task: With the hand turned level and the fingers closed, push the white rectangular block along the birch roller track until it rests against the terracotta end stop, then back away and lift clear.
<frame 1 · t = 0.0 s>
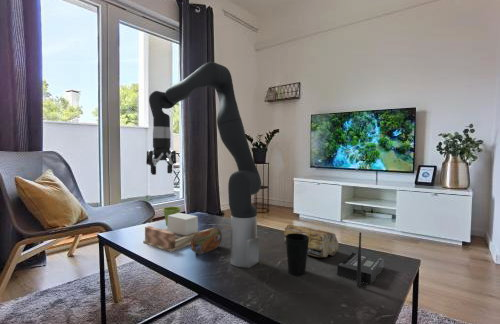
hand: (161, 173, 125), 29 cm above the table, tool pointing down, fingers open, 8 cm apart
roller track: (176, 240, 124), on the table
white rectangular block: (182, 223, 127), point 7 cm above the table, slide at 0.0 cm
plant pot: (171, 224, 150), on the table
cup: (296, 272, 94), on the table
wireless controller: (359, 275, 93), on the table
tin: (206, 250, 112), on the table
petrified wood: (309, 251, 113), on the table
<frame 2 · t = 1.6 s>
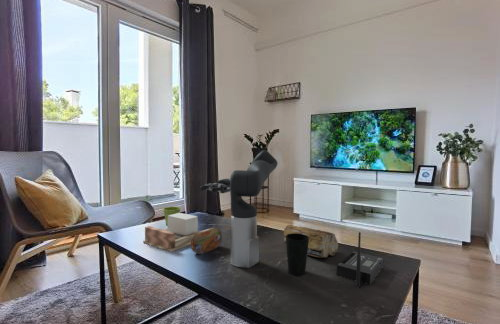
hand: (206, 189, 139), 20 cm above the table, tool horizontal, fingers open, 7 cm apart
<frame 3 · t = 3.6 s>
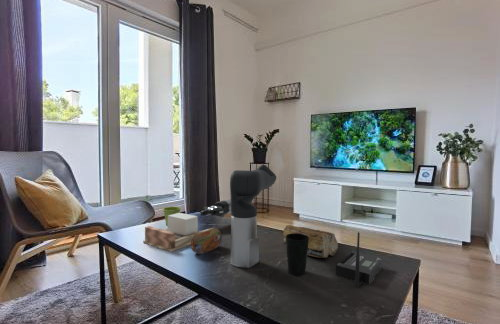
hand: (201, 213, 137), 9 cm above the table, tool horizontal, fingers closed
nothing on the table moved.
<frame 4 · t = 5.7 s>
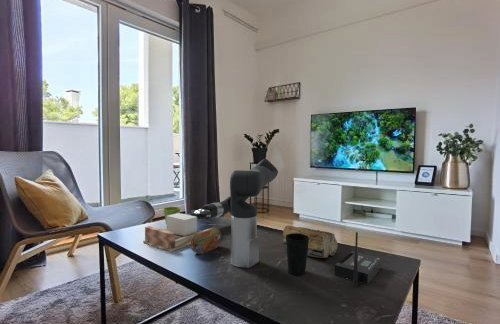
hand: (187, 217, 129), 9 cm above the table, tool horizontal, fingers closed
white rectangular block: (181, 223, 126), point 7 cm above the table, slide at 0.7 cm, touching gripper
everything else where it was.
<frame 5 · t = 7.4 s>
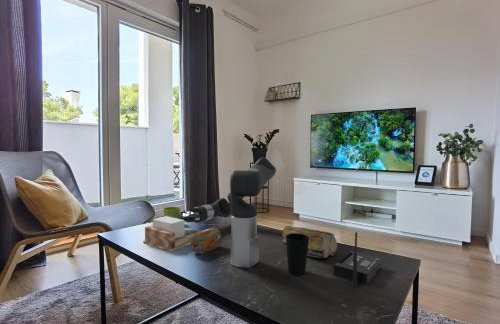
hand: (174, 220, 123), 9 cm above the table, tool horizontal, fingers closed
white rectangular block: (168, 227, 120), point 7 cm above the table, slide at 8.0 cm, touching gripper
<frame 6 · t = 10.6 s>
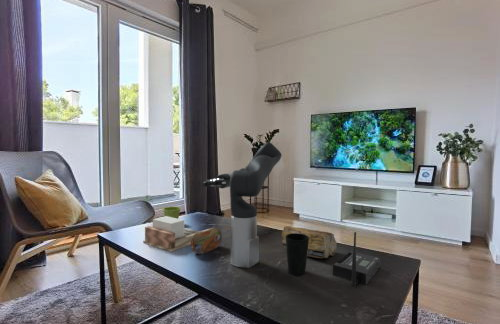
hand: (204, 184, 136), 23 cm above the table, tool horizontal, fingers closed
white rectangular block: (168, 227, 120), point 7 cm above the table, slide at 8.0 cm
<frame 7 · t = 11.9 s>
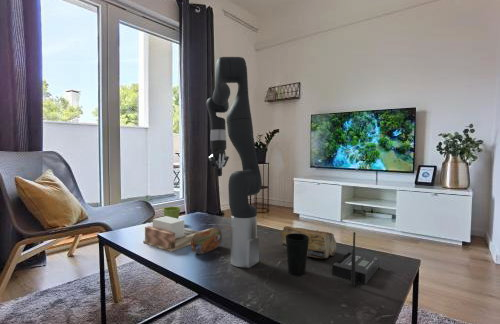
hand: (219, 176, 133), 28 cm above the table, tool pointing down, fingers closed
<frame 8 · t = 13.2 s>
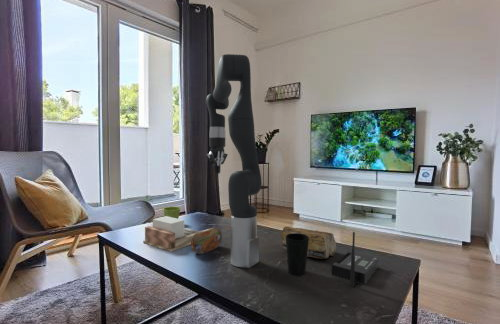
hand: (217, 173, 133), 29 cm above the table, tool pointing down, fingers closed
at the end: white rectangular block slide at 8.0 cm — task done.
